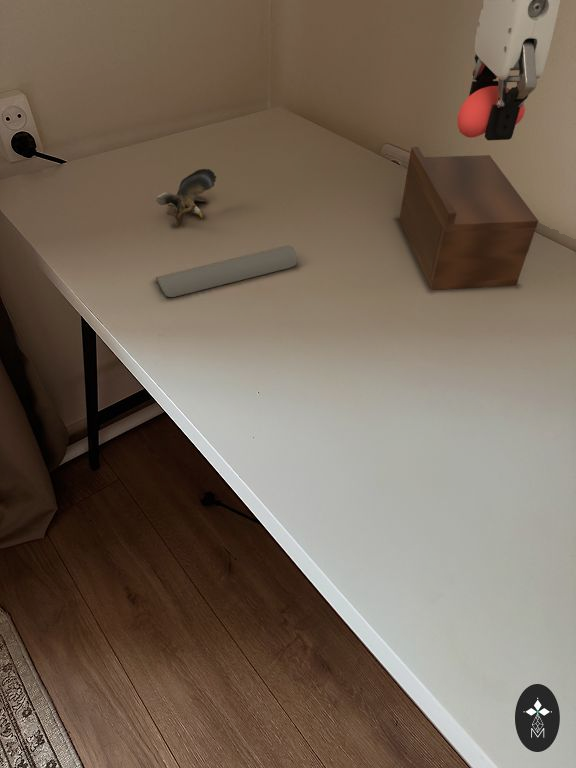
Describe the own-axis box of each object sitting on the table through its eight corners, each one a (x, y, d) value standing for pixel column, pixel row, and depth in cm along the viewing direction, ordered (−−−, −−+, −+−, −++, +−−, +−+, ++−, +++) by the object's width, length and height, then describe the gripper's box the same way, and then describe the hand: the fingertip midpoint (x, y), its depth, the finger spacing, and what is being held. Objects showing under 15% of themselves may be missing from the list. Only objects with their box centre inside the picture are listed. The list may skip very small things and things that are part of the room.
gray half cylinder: (299, 266, 89) (299, 255, 87) (164, 300, 83) (162, 289, 81) (286, 250, 91) (286, 239, 90) (154, 282, 85) (153, 271, 84)
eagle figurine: (212, 226, 93) (228, 186, 98) (180, 189, 89) (199, 150, 94) (175, 241, 97) (192, 202, 102) (143, 207, 93) (162, 168, 98)
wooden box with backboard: (473, 216, 99) (492, 144, 91) (516, 285, 87) (542, 209, 79) (398, 219, 98) (411, 146, 90) (431, 290, 86) (449, 213, 77)
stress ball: (442, 132, 80) (445, 96, 74) (505, 97, 80) (513, 59, 74) (464, 161, 79) (469, 127, 73) (528, 126, 78) (539, 89, 72)
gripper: (605, -27, 59) (545, 158, 72) (532, -67, 71) (491, 97, 84) (529, -26, 58) (482, 160, 71) (467, -67, 70) (436, 99, 83)
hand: (487, 125), depth 77 cm, fingers closed on stress ball, 6 cm apart
